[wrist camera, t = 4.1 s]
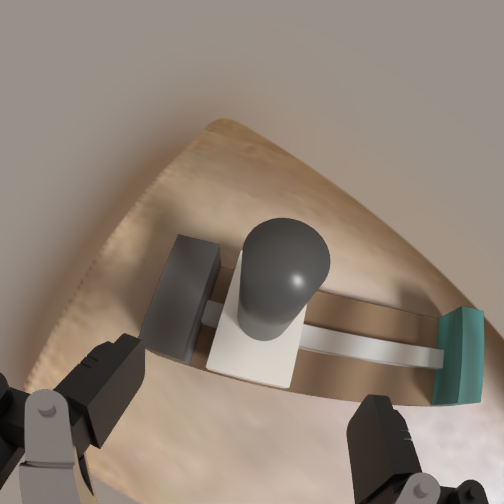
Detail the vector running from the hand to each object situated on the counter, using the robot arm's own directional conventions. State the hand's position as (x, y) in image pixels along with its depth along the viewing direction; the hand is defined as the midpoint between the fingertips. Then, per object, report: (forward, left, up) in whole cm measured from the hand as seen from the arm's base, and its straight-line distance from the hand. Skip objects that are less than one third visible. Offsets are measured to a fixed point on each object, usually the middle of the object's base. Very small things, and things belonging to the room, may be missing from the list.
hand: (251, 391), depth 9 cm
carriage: (0, -5, -9) cm, 10 cm away
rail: (-6, -5, -12) cm, 14 cm away
